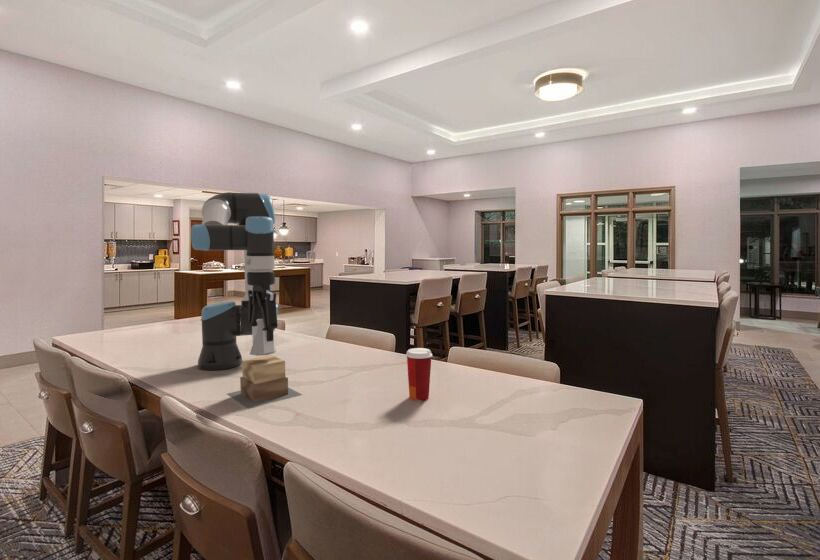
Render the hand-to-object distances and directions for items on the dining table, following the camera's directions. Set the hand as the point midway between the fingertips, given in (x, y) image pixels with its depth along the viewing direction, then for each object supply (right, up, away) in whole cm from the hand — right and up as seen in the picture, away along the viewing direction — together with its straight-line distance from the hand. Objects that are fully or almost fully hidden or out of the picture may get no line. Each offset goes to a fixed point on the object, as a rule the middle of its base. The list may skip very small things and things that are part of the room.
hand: (263, 349), depth 126 cm
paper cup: (+45, -14, +1) cm, 48 cm away
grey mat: (0, -14, +1) cm, 14 cm away
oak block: (0, -8, +1) cm, 8 cm away
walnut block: (0, -13, +1) cm, 13 cm away
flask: (0, -1, 0) cm, 1 cm away
